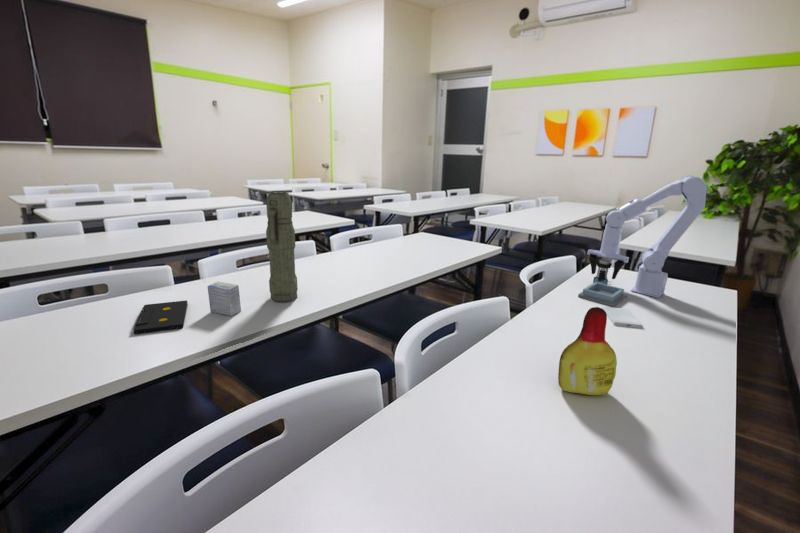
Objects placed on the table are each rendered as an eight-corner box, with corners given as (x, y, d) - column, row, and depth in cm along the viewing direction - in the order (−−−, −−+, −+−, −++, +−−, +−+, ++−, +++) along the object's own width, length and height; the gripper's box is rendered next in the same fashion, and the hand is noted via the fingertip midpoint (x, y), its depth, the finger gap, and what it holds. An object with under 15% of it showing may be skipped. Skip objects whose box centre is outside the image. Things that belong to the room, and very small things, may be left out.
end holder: (626, 297, 146) (628, 289, 145) (613, 306, 136) (615, 298, 135) (592, 288, 154) (593, 280, 153) (578, 296, 144) (579, 289, 143)
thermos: (264, 303, 128) (256, 193, 117) (276, 290, 139) (270, 189, 129) (292, 305, 128) (286, 195, 117) (302, 291, 139) (297, 190, 129)
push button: (608, 283, 160) (613, 259, 157) (612, 288, 155) (618, 263, 152) (591, 281, 161) (595, 258, 158) (594, 286, 156) (599, 261, 153)
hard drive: (602, 306, 134) (614, 321, 122) (629, 309, 132) (643, 324, 121) (601, 310, 134) (613, 326, 122) (628, 313, 133) (642, 329, 121)
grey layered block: (241, 311, 122) (239, 284, 119) (231, 316, 118) (228, 289, 115) (220, 307, 124) (218, 280, 122) (210, 312, 120) (206, 285, 118)
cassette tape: (145, 310, 121) (144, 303, 121) (187, 305, 126) (187, 299, 125) (134, 336, 106) (132, 329, 105) (183, 330, 110) (182, 323, 109)
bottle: (558, 397, 86) (574, 312, 80) (550, 380, 92) (564, 300, 86) (615, 401, 85) (635, 315, 79) (603, 384, 91) (621, 303, 85)
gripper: (586, 240, 155) (580, 273, 159) (627, 248, 145) (619, 283, 149) (593, 237, 160) (587, 269, 164) (633, 245, 150) (625, 279, 154)
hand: (603, 276), depth 157 cm, fingers open, 7 cm apart
